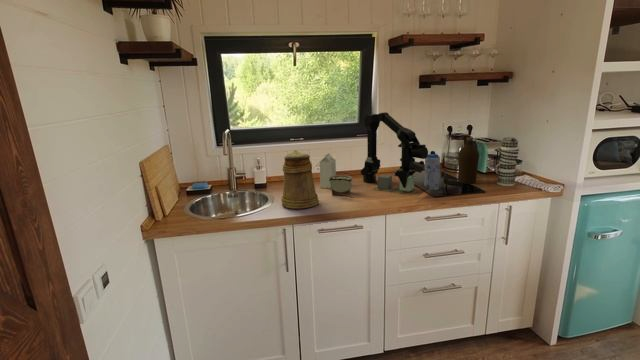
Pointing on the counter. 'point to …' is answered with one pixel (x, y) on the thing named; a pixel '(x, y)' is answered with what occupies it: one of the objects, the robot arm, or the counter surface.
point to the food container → (340, 185)
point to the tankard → (298, 182)
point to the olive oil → (468, 163)
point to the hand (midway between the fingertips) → (406, 186)
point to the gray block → (385, 182)
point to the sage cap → (408, 184)
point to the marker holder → (397, 190)
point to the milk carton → (327, 170)
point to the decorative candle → (507, 161)
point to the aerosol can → (432, 171)
